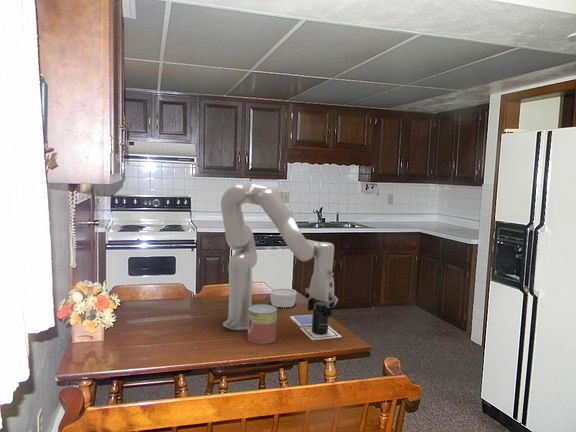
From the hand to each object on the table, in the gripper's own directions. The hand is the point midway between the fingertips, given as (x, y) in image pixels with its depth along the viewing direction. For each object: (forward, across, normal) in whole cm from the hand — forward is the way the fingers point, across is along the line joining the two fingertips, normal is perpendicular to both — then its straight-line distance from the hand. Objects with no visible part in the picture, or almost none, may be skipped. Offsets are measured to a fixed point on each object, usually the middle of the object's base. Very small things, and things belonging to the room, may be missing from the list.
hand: (319, 313), depth 178 cm
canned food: (+9, +10, +22) cm, 26 cm away
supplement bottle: (+8, -1, -1) cm, 8 cm away
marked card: (+8, -1, -1) cm, 8 cm away
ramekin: (+9, +36, -14) cm, 40 cm away
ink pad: (+8, +12, -6) cm, 16 cm away
